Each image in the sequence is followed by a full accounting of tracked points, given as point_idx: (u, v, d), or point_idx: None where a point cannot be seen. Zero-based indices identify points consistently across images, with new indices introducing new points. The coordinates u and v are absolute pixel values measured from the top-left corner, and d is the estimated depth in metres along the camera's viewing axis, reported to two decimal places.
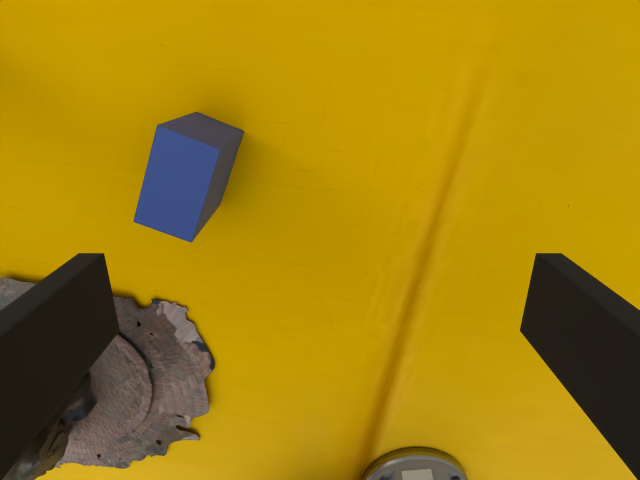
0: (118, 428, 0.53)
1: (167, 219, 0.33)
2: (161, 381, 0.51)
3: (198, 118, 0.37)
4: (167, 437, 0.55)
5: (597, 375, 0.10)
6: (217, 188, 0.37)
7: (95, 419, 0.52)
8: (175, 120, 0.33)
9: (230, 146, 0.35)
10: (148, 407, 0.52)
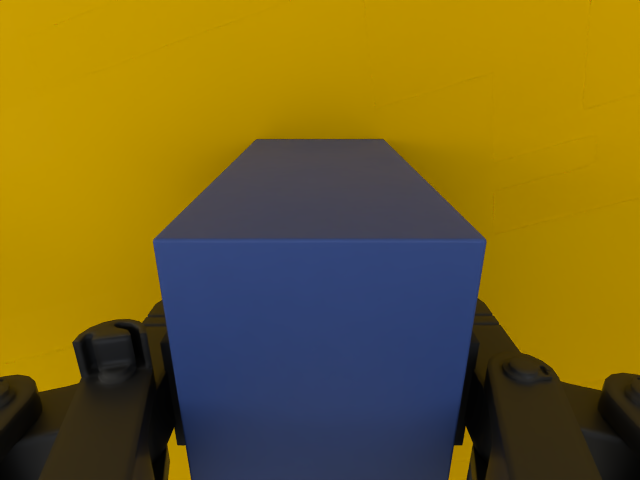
0: None
1: None
2: None
3: (273, 150, 0.13)
4: None
5: None
6: None
7: None
8: (220, 181, 0.09)
9: None
10: None
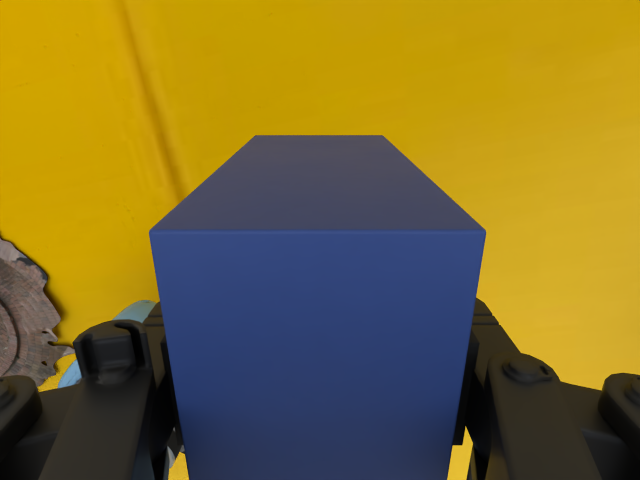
0: (3, 358, 0.61)
1: None
2: (12, 303, 0.59)
3: (272, 146, 0.13)
4: (47, 356, 0.62)
5: None
6: None
7: None
8: (218, 175, 0.09)
9: None
10: (13, 330, 0.59)
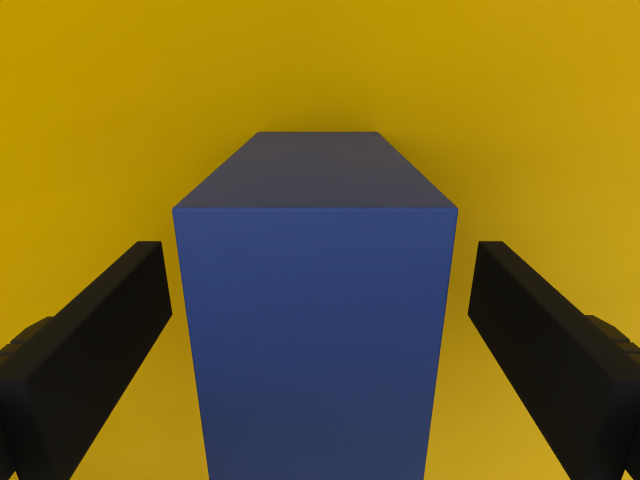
0: None
1: None
2: None
3: (274, 141, 0.14)
4: None
5: (519, 349, 0.10)
6: None
7: None
8: (227, 165, 0.10)
9: None
10: None
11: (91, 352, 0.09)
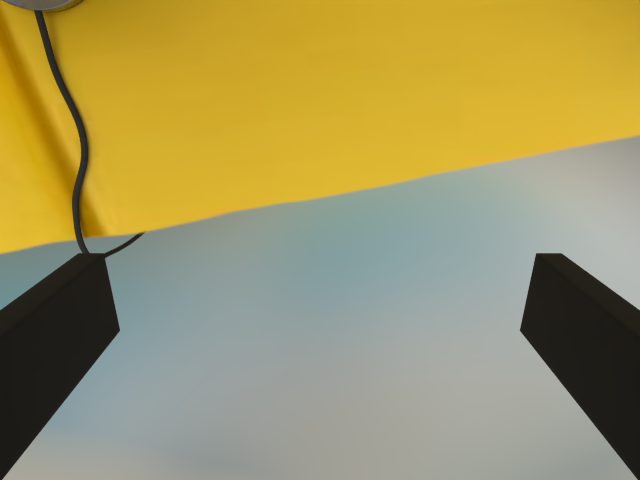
0: None
1: None
2: None
3: None
4: None
5: (597, 375, 0.10)
6: None
7: None
8: None
9: None
10: None
11: None
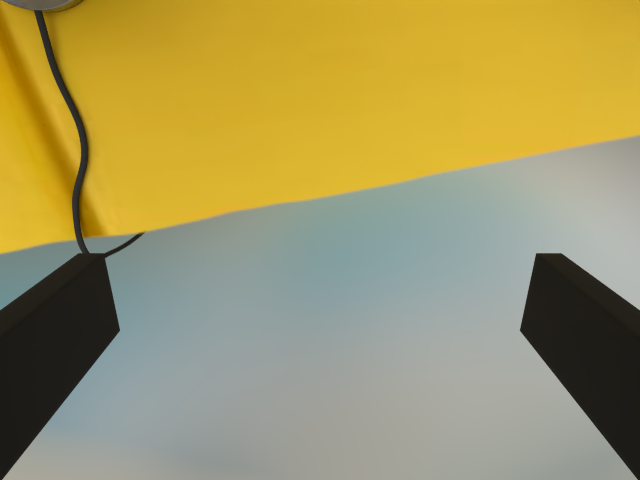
0: None
1: None
2: None
3: None
4: None
5: (597, 375, 0.10)
6: None
7: None
8: None
9: None
10: None
11: None
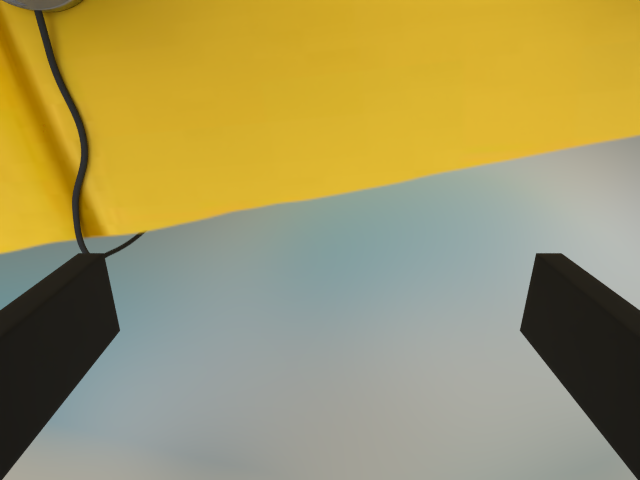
0: None
1: None
2: None
3: None
4: None
5: (597, 375, 0.10)
6: None
7: None
8: None
9: None
10: None
11: None
